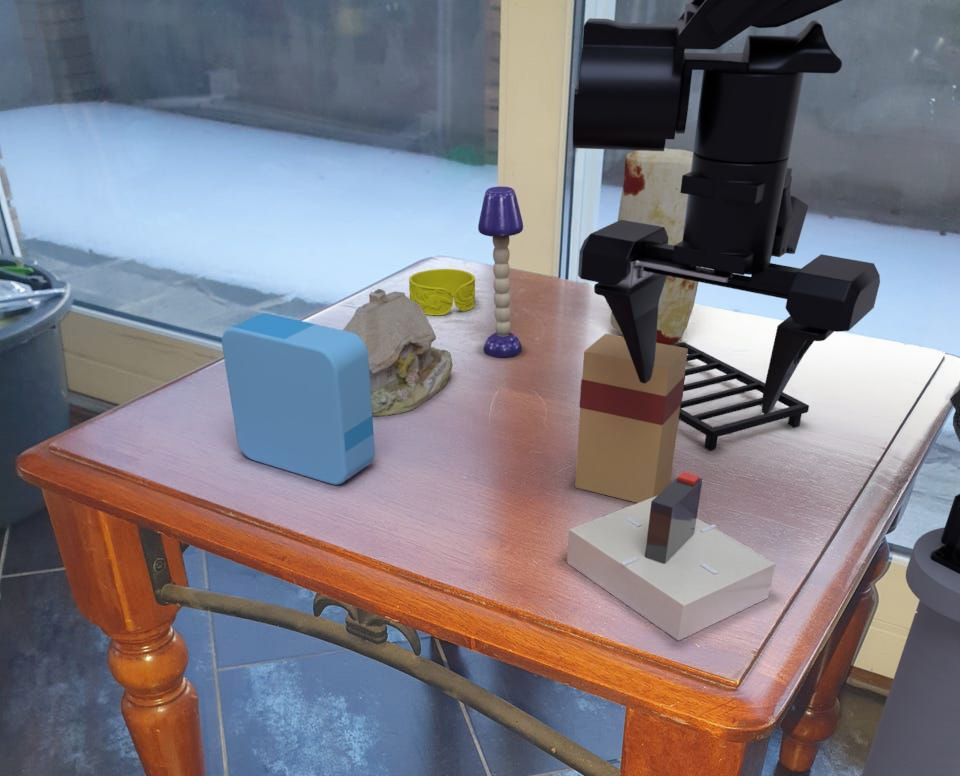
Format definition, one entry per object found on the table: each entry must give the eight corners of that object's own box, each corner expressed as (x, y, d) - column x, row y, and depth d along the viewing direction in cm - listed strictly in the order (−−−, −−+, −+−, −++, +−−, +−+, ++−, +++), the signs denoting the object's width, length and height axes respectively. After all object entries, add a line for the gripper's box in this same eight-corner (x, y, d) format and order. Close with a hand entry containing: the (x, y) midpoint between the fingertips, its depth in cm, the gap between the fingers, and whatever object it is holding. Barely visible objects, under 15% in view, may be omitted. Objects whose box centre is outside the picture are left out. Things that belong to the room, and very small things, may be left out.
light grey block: (769, 597, 72) (777, 560, 70) (677, 641, 67) (683, 603, 66) (654, 527, 79) (659, 492, 78) (565, 563, 75) (567, 527, 73)
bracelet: (399, 301, 123) (398, 274, 121) (456, 291, 126) (456, 265, 124) (426, 319, 118) (425, 291, 116) (485, 308, 121) (485, 280, 119)
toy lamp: (483, 359, 108) (484, 195, 98) (473, 344, 111) (473, 184, 101) (526, 356, 109) (531, 193, 98) (515, 340, 112) (518, 182, 102)
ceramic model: (379, 427, 94) (373, 323, 88) (296, 398, 99) (284, 297, 93) (470, 381, 103) (470, 283, 97) (389, 356, 108) (384, 262, 102)
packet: (594, 465, 88) (605, 332, 81) (671, 483, 85) (689, 348, 78) (573, 487, 85) (583, 351, 77) (652, 507, 82) (669, 367, 75)
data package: (377, 468, 87) (368, 334, 80) (346, 490, 84) (334, 352, 77) (271, 437, 92) (253, 309, 85) (238, 457, 89) (217, 325, 82)
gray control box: (665, 563, 70) (673, 504, 67) (644, 557, 70) (651, 498, 67) (694, 533, 73) (703, 475, 70) (674, 527, 74) (682, 469, 71)
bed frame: (804, 426, 95) (809, 405, 93) (708, 453, 90) (712, 431, 89) (681, 361, 108) (683, 341, 106) (592, 381, 103) (593, 361, 102)
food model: (598, 340, 112) (613, 146, 100) (621, 322, 117) (638, 135, 105) (679, 356, 108) (705, 157, 96) (700, 337, 113) (727, 145, 101)
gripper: (933, 150, 62) (871, 389, 71) (660, 117, 70) (637, 335, 79) (880, 185, 54) (819, 446, 64) (582, 144, 63) (567, 380, 72)
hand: (704, 396), depth 70 cm, fingers open, 9 cm apart
